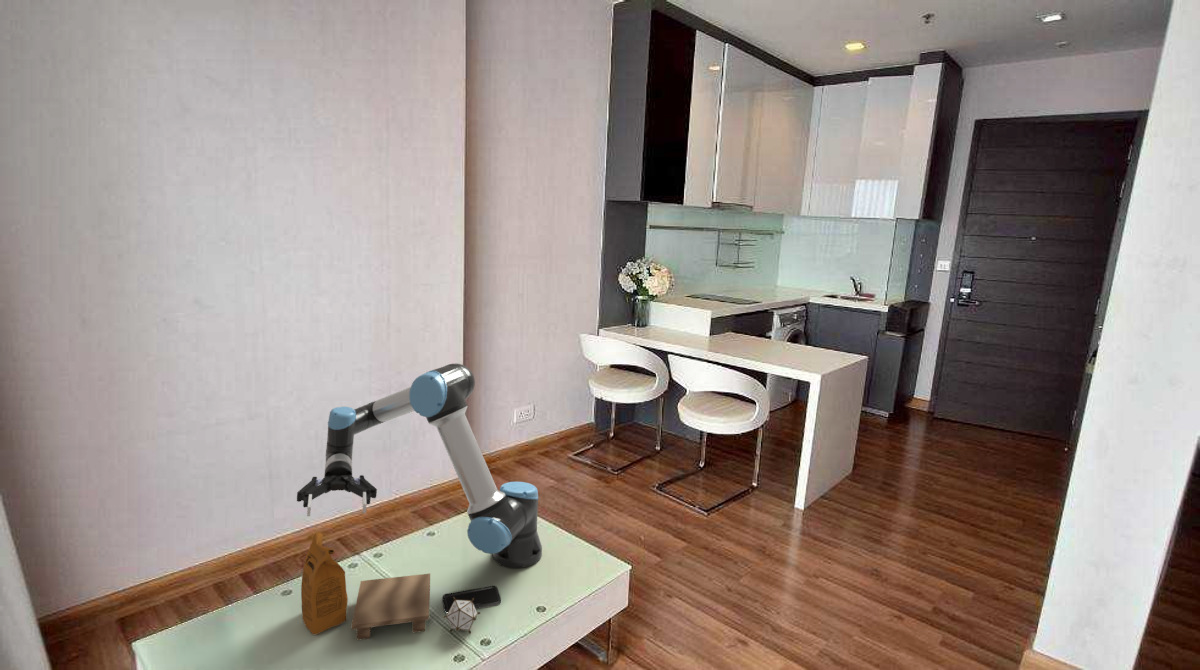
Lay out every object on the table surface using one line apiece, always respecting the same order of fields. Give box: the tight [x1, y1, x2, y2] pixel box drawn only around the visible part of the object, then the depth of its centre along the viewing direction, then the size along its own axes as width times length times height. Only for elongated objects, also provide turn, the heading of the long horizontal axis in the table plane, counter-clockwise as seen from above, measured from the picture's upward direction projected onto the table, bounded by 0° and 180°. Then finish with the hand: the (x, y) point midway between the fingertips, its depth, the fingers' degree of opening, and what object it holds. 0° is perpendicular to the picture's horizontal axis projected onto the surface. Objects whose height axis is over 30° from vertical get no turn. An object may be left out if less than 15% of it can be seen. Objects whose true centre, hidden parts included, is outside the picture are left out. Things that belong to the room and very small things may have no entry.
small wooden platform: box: [350, 573, 431, 641], centre depth 152 cm, size 18×18×5 cm
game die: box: [442, 597, 481, 634], centre depth 147 cm, size 9×8×10 cm
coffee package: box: [300, 531, 349, 635], centre depth 148 cm, size 10×12×22 cm
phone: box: [442, 585, 502, 612], centre depth 159 cm, size 8×1×15 cm
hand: (337, 510), depth 155 cm, fingers open, 13 cm apart
